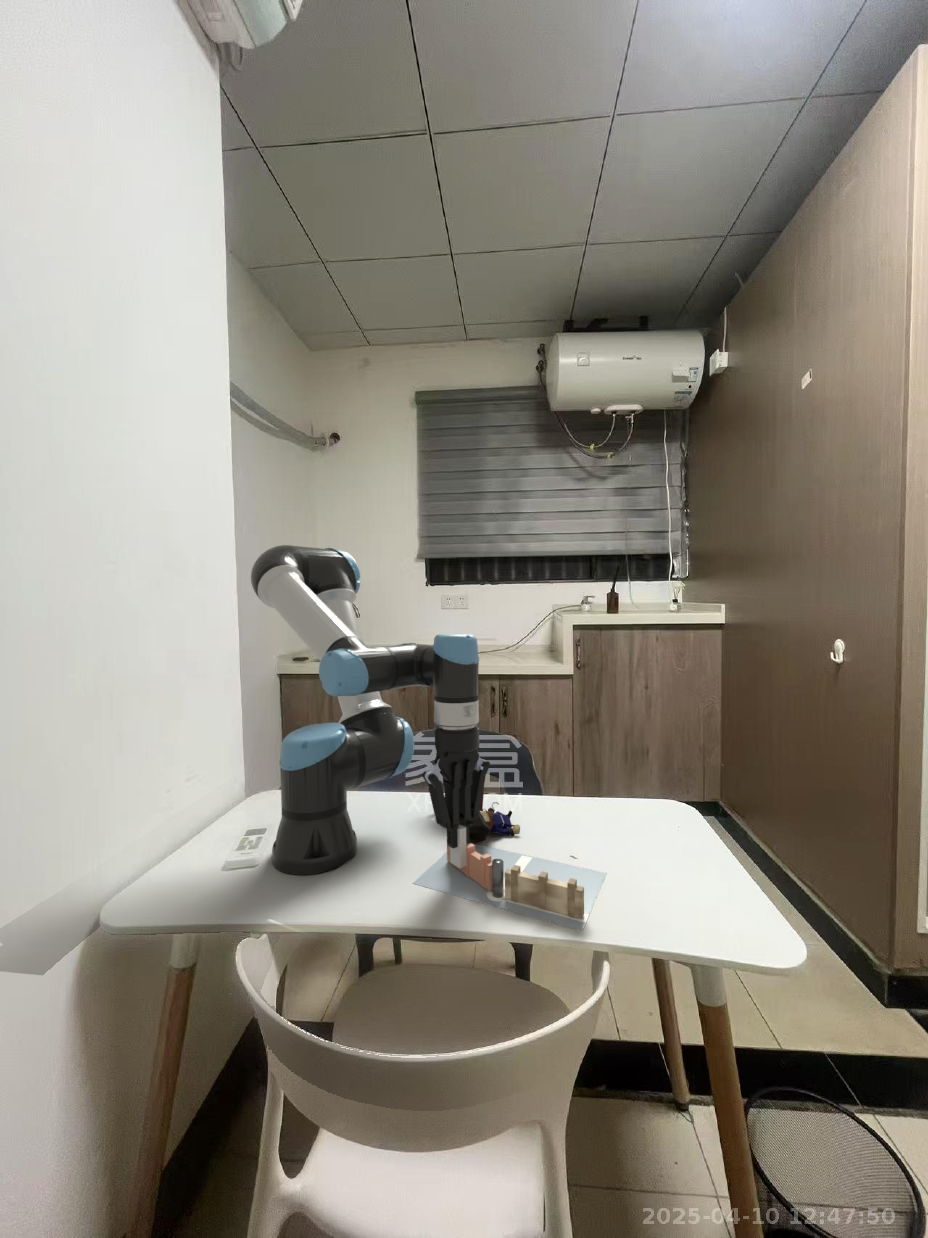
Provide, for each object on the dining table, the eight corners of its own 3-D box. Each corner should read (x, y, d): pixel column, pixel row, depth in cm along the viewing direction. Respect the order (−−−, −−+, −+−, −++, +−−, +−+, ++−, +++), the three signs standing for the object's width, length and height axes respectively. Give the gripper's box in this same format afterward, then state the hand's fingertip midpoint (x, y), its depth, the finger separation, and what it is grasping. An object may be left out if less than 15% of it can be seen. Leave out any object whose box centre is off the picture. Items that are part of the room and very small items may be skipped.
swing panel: (496, 888, 81) (495, 858, 80) (488, 891, 80) (488, 861, 80) (453, 858, 90) (453, 832, 90) (446, 861, 89) (446, 834, 89)
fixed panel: (504, 898, 78) (504, 867, 78) (508, 893, 79) (507, 863, 79) (581, 919, 72) (581, 886, 72) (584, 913, 74) (584, 881, 73)
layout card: (412, 885, 83) (412, 883, 83) (459, 841, 98) (459, 840, 98) (582, 933, 70) (582, 930, 70) (606, 874, 85) (606, 872, 85)
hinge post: (490, 898, 79) (490, 863, 78) (495, 892, 80) (494, 857, 80) (501, 901, 78) (500, 865, 78) (505, 895, 79) (505, 860, 79)
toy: (531, 824, 101) (479, 823, 92) (517, 852, 102) (464, 854, 92) (503, 797, 108) (452, 793, 99) (490, 823, 109) (438, 822, 99)
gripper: (438, 734, 78) (439, 886, 78) (500, 723, 86) (501, 860, 86) (412, 726, 84) (414, 867, 84) (472, 716, 92) (474, 845, 92)
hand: (458, 864), depth 85 cm, fingers closed
